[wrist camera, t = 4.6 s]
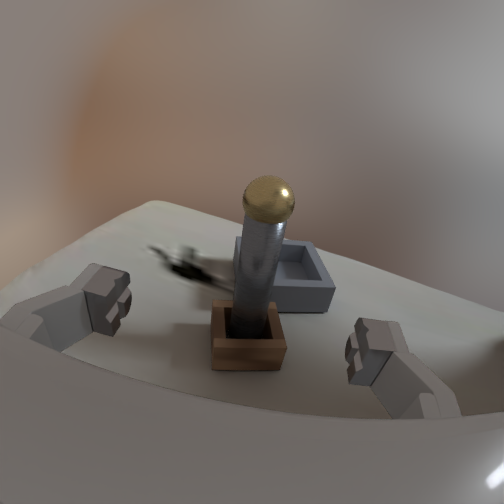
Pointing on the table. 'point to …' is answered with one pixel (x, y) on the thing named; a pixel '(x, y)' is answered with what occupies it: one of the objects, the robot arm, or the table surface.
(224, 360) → the collar
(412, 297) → the table surface
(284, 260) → the tray
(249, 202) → the pin
